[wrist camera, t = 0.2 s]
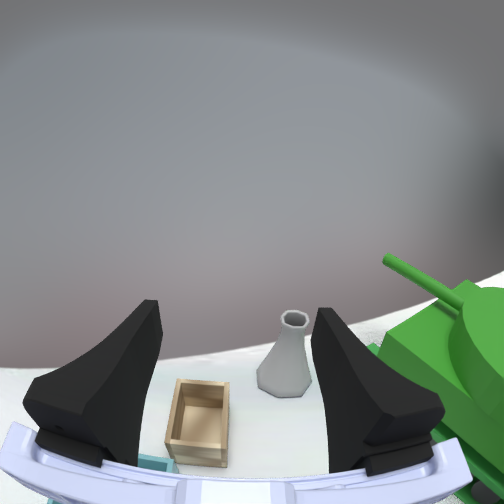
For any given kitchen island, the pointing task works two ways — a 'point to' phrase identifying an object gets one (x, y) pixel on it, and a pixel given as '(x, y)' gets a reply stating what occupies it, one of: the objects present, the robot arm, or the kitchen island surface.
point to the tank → (458, 372)
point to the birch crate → (199, 423)
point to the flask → (287, 359)
